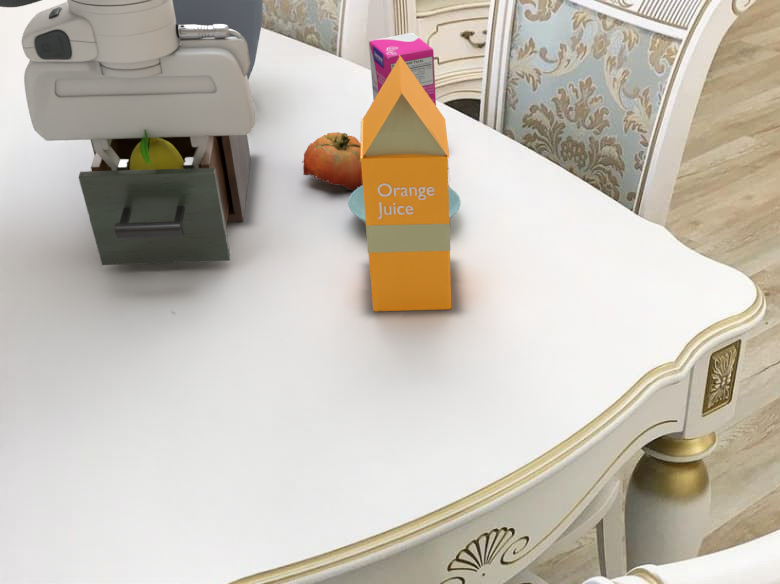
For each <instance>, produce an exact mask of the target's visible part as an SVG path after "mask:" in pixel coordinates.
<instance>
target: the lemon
mask: <svg viewBox="0 0 780 584" xmlns="http://www.w3.org/2000/svg"><path fill="white" fill-rule="evenodd" d="M157 169H184V160H183V159H182V157H181V155H180V154H179V152H178V151H177V149H176V148H175V147H174V146H173V145H172V144H171V143H169V142H168V141H166V140H163V137H159V138H147V133H146V131H145V138H142V140H141V142H139V143H138V144H137V146H136V147H135V149H134V150H133V152H132V155H131V159H130V170H157Z"/></svg>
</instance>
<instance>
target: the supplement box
mask: <svg viewBox="0 0 780 584" xmlns="http://www.w3.org/2000/svg"><path fill="white" fill-rule="evenodd" d="M368 50H369V61H370V62H369V63H370V73H371V88H372V97H373V98H372V99H373V101H374V99H375V98H376V96H377V94H378V93H379V91H380V89H381V87H382V86H383V84H384V82H385V81H386V79H387V77H388V76H389V74H390V72H391V71H392V69H393V67H394V66H395V64H396V62H397V60H398V59H399V55H400V56H401V57H402V59H403V60H404V62H405V63H406V64H407V66H408V67H409V69H410V70H411V72H412V73H413V74H414V76H415V77H416V79H417V80H418V81H419V83H420V84H421V86H422V87H423V89H424V90H425V91H426V93H427V94H428V96H429V97H430V98H431V100H432V101H433V103H434V104H435V105H436V106H437V100H436V96H437V95H436V78H435V75H436V74H435V56H434V55H435V53H434V48H433V47H431V46H430V45H429V44H427V42H425V41H424V40H423V39H421V38H420V37H419V36H418V35H417V34H416V33H414V32H407V33H403V34H398V35H393V36H387V37H382V38H375V39H370V40H368Z"/></svg>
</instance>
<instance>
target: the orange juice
mask: <svg viewBox="0 0 780 584" xmlns="http://www.w3.org/2000/svg"><path fill="white" fill-rule="evenodd" d="M447 133H448V132H447V121H446V118H445V116H444V115H443V114H442V113H441V111H440V110H439V108H438V107H437V104H436V105H435V104H434V103H433V101H432V100H431V98H430V97H429V96H428V94H427V93H426V91H425V90H424V89H423V87H422V86H421V84H420V83H419V81H418V80H417V79H416V77H415V76H414V74H413V73H412V72H411V70H410V69H409V67H408V66H407V64H406V63H405V62H404V60H403V59H402V57H401V56H400V55H399V59H398V60H397V62H396V64H395V66H394V67H393V69H392V71H391V72H390V74H389V76H388V77H387V79H386V81H385V82H384V84H383V86H382V87H381V89H380V91H379V93H378V94H377V96H376V98H375V99H374V100H373V101H372V103H371V104H370V106H369V108H368V110H367V111H366V112H365V115H364V116H363V117H362V118H361V121H360V161H361V168H362V181H363V183H362V184H363V186H362V187H363V193H364V205H365V217H366V223H365V234H366V246H367V253H368V265H369V277H370V278H369V279H370V288H371V289H370V290H371V301H372V312H400V311H401V312H404V311H438V310H439V311H441V310H452V277H451V276H452V275H451V273H452V272H451V223H450V219H449V195H450V194H449V192H448V187H449V182H451V181H450V179H449V178H450V174H449V173H450V167H449V166H450V165H449V159H450V151H449V141H448V134H447ZM449 191H450V189H449Z"/></svg>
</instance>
